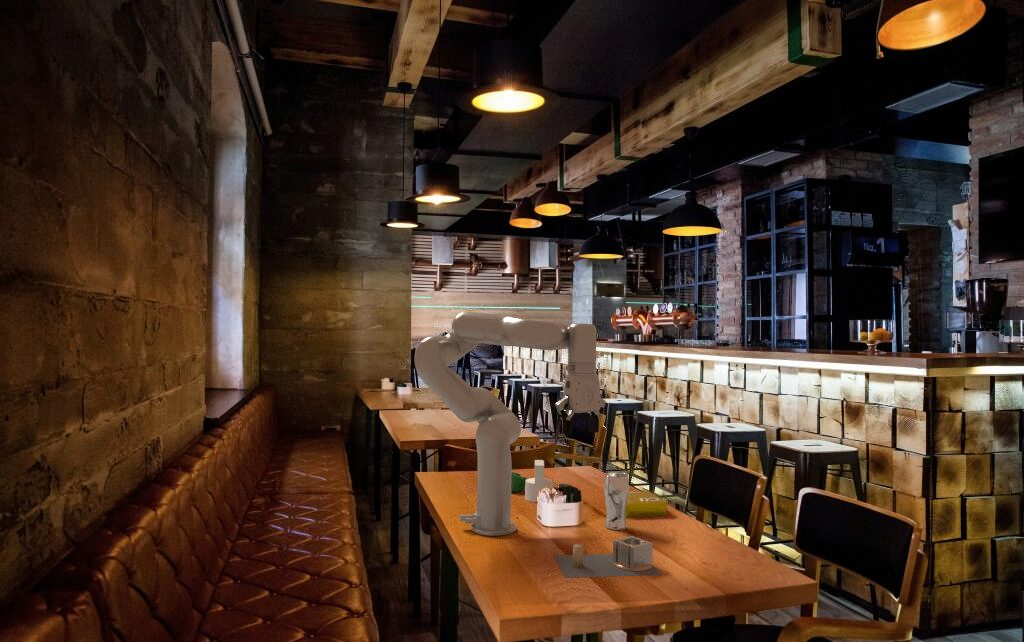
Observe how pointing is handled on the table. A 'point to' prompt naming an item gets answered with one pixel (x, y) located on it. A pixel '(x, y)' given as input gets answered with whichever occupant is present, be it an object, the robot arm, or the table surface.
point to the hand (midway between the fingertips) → (580, 433)
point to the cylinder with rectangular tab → (536, 482)
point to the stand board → (594, 565)
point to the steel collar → (632, 552)
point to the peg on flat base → (629, 568)
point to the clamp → (517, 482)
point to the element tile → (645, 505)
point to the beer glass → (616, 499)
